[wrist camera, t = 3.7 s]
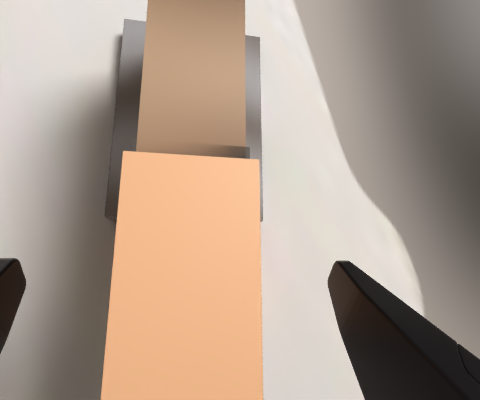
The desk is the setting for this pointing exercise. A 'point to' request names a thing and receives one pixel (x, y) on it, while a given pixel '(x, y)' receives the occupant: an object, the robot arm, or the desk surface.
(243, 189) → the block
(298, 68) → the desk surface
